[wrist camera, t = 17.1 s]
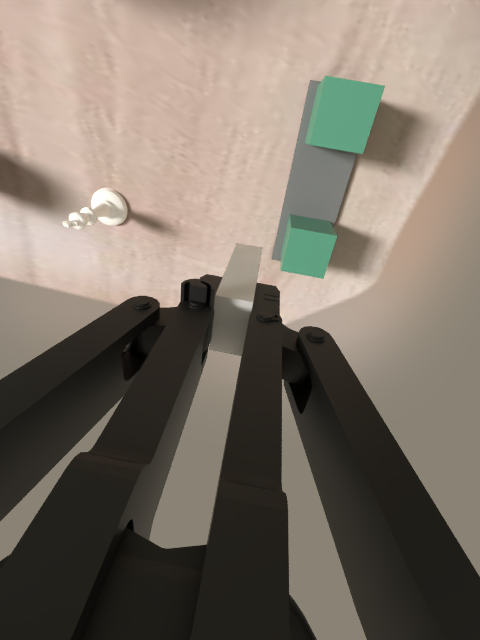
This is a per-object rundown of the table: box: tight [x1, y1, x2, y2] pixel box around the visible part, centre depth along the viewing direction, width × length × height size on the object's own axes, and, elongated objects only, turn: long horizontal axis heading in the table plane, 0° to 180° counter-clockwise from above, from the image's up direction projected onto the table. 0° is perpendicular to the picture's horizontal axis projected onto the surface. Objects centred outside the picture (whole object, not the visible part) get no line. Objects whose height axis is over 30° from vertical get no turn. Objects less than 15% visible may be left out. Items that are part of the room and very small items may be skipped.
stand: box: [272, 76, 385, 261], centre depth 34 cm, size 7×20×7 cm, turn 172°
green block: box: [281, 214, 337, 278], centre depth 37 cm, size 5×5×7 cm
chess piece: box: [63, 188, 127, 230], centre depth 37 cm, size 5×5×10 cm
